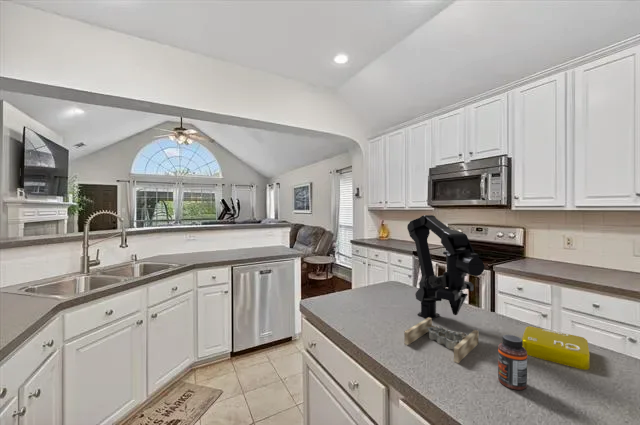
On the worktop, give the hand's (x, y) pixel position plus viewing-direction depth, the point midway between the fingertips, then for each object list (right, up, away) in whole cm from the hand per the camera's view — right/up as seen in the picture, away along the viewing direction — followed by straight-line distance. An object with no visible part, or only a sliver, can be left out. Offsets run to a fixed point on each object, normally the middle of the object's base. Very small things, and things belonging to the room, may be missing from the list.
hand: (455, 314), depth 101 cm
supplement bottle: (0, -7, -29) cm, 30 cm away
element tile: (+23, -7, -14) cm, 28 cm away
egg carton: (-6, -7, -7) cm, 11 cm away
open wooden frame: (-8, -6, -8) cm, 13 cm away
